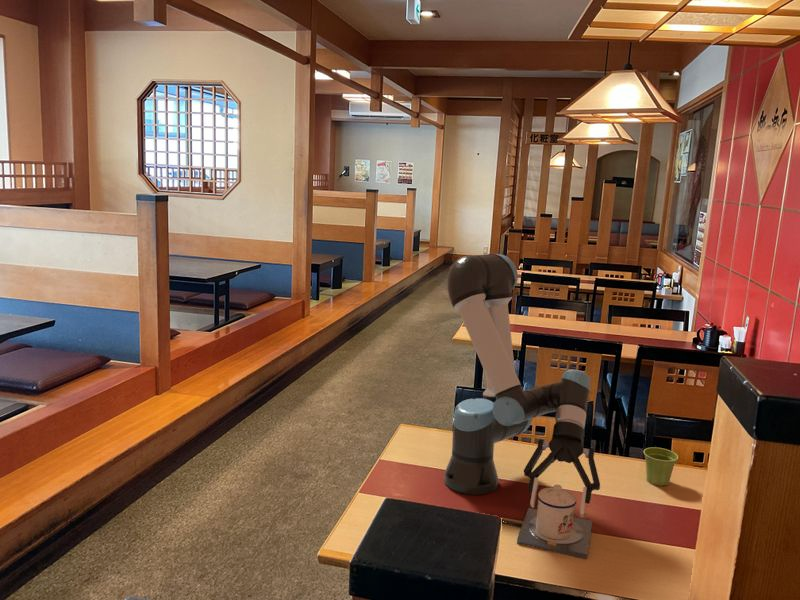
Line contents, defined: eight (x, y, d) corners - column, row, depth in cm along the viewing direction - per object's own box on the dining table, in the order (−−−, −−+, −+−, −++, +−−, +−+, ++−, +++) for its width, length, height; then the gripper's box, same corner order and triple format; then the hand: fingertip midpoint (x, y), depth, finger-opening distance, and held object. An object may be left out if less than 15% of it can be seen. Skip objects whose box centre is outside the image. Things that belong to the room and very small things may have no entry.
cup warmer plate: (488, 536, 154) (488, 530, 154) (502, 506, 169) (502, 501, 168) (586, 559, 146) (587, 552, 146) (591, 525, 161) (592, 519, 161)
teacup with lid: (563, 545, 149) (567, 498, 147) (528, 531, 154) (531, 486, 152) (584, 525, 158) (588, 481, 156) (551, 513, 163) (554, 470, 161)
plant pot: (671, 492, 180) (675, 463, 179) (637, 483, 185) (640, 455, 184) (677, 480, 188) (680, 452, 187) (644, 471, 193) (647, 444, 192)
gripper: (616, 440, 163) (607, 525, 151) (524, 425, 171) (509, 505, 159) (617, 428, 157) (608, 515, 145) (522, 413, 165) (506, 495, 153)
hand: (556, 510), depth 152 cm, fingers open, 11 cm apart
